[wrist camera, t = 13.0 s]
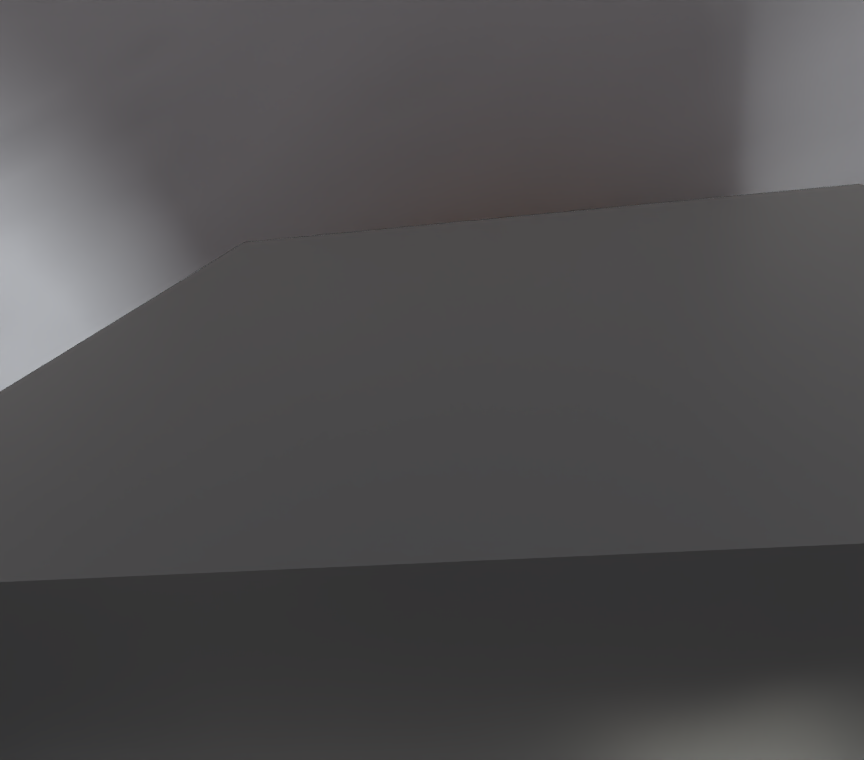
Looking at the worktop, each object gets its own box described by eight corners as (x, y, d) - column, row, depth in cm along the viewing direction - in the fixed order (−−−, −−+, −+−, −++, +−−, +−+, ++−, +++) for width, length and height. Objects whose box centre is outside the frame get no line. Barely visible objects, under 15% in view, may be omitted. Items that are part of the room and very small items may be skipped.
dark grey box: (792, 664, 11) (1210, 1413, 5) (336, 677, 12) (175, 1339, 5) (858, 184, 8) (2214, 481, 2) (244, 242, 9) (-336, 598, 3)
